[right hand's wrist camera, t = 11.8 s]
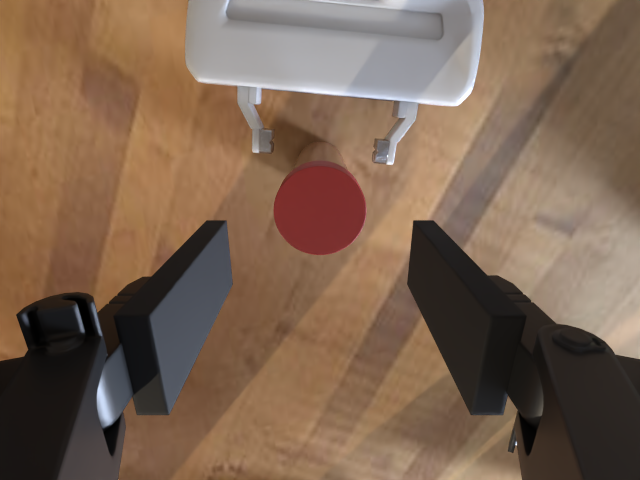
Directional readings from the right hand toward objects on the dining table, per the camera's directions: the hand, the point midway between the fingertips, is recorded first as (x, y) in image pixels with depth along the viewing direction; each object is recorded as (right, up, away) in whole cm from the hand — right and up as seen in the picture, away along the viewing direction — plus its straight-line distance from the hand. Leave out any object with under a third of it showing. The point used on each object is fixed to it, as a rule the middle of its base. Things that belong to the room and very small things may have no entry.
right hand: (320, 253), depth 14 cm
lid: (0, +2, +6) cm, 6 cm away
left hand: (0, +7, +14) cm, 16 cm away
